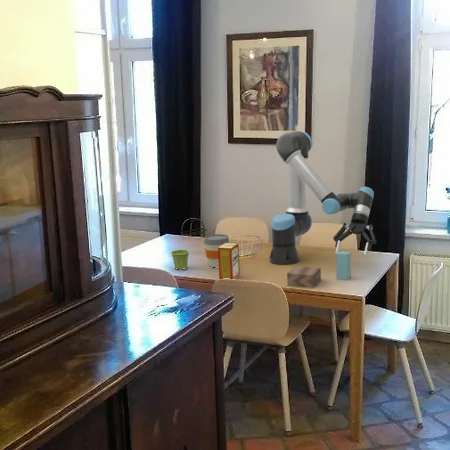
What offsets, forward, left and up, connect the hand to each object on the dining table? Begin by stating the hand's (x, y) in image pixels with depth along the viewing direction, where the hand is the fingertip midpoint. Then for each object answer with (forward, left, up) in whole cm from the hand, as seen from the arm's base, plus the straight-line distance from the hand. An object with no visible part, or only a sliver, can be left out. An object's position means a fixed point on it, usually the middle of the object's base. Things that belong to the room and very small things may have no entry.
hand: (350, 254), depth 294 cm
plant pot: (-83, -18, -10) cm, 85 cm away
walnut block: (-16, -18, -10) cm, 26 cm away
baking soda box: (-52, -23, -10) cm, 58 cm away
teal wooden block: (-2, -5, -10) cm, 11 cm away
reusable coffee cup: (-68, -7, -10) cm, 69 cm away
